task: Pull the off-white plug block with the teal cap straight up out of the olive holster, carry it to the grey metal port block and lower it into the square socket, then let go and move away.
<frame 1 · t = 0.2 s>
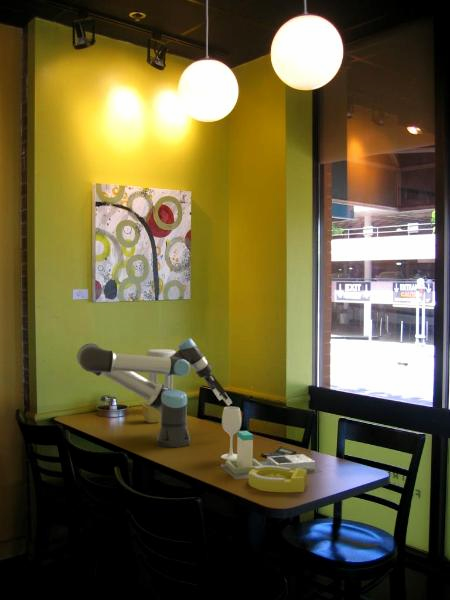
hand: (225, 401, 305), 15 cm above the table, tool tilted 35°, fingers open, 13 cm apart
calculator: (278, 457, 264), on the table, touching mat
ashtray: (276, 484, 227), on the table, touching mat
flower pot: (152, 422, 327), on the table
stool: (160, 412, 352), on the table
mat: (270, 469, 246), on the table
wineglass: (230, 458, 262), on the table
holster: (244, 465, 246), on the mat
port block: (281, 468, 246), resting on mat
plug: (244, 450, 246), in the holster, touching mat
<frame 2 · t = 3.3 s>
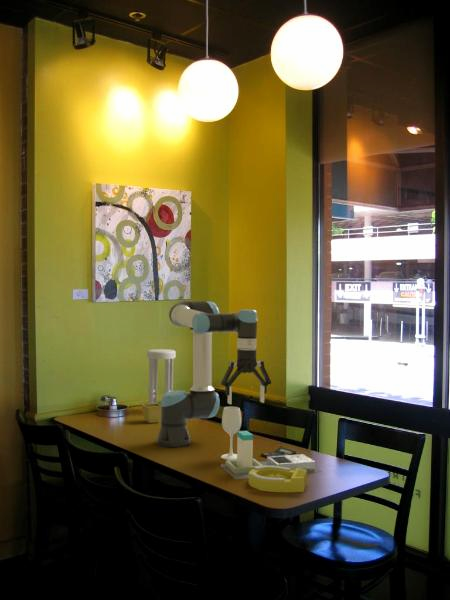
hand: (245, 403, 245), 26 cm above the table, tool pointing down, fingers open, 13 cm apart
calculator: (278, 457, 264), on the table
everything else where it was.
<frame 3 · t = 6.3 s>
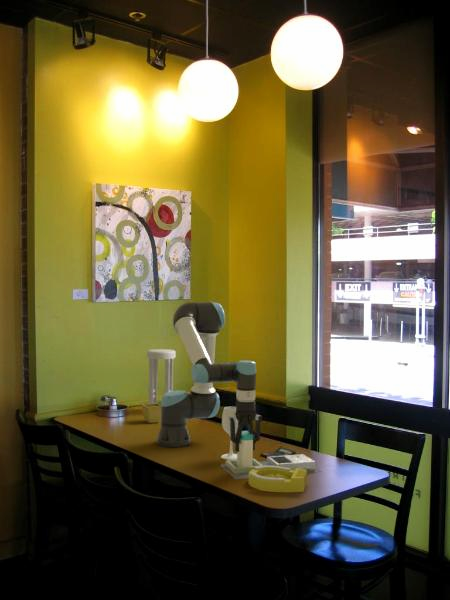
hand: (244, 459, 246), 4 cm above the table, tool pointing down, fingers closed on plug, 4 cm apart
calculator: (277, 457, 264), on the table, touching mat
plug: (244, 450, 246), in the holster, touching gripper, mat
everything else where it was.
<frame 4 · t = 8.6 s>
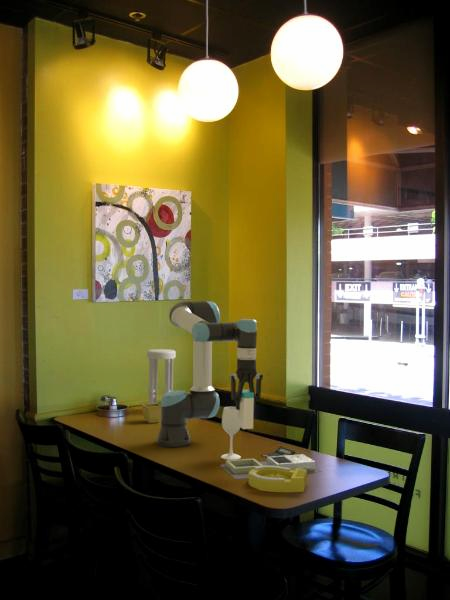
hand: (245, 417, 245), 20 cm above the table, tool pointing down, fingers closed on plug, 4 cm apart
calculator: (277, 458, 264), on the table
plug: (245, 409, 245), point 24 cm above the table, touching gripper
everything else where it was.
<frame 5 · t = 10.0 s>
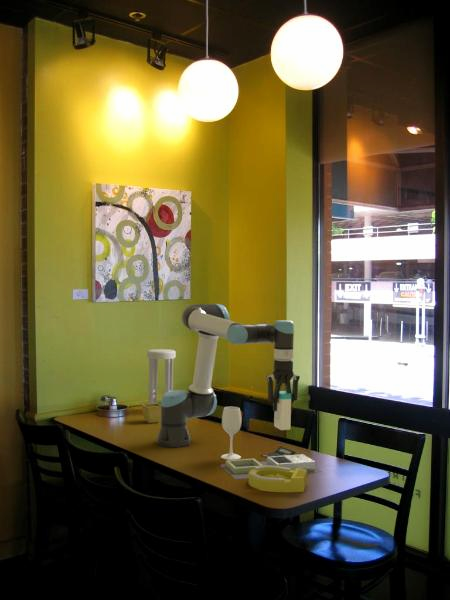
hand: (282, 418, 246), 20 cm above the table, tool pointing down, fingers closed on plug, 4 cm apart
plug: (282, 410, 246), point 24 cm above the table, touching gripper
everything else where it was.
when the fingers open (6 cm above the table, at t = 13.9 s): plug drops 1 cm, resting on mat.
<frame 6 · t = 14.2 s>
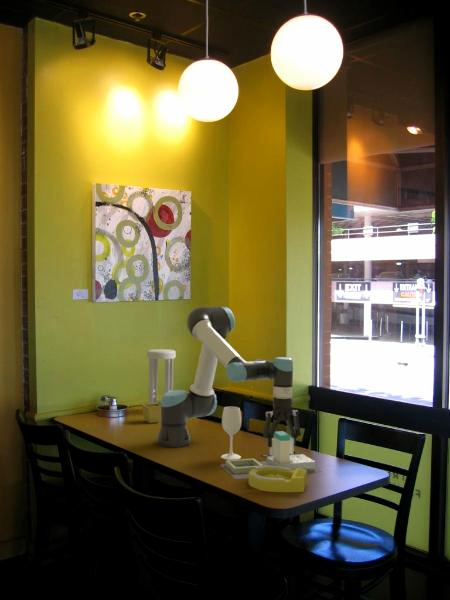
hand: (281, 454, 246), 6 cm above the table, tool pointing down, fingers open, 8 cm apart
plug: (281, 451, 246), in the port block, touching mat
everything else where it was.
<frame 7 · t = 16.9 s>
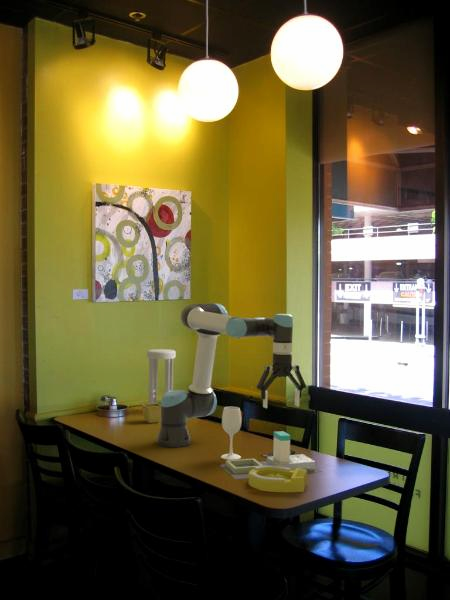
hand: (281, 406, 246), 25 cm above the table, tool pointing down, fingers open, 13 cm apart
nothing on the table moved.
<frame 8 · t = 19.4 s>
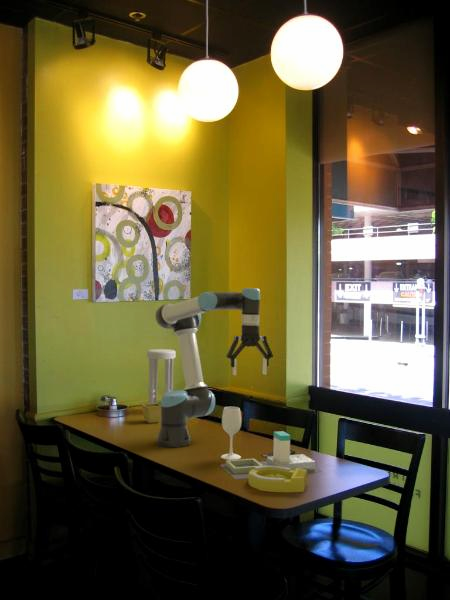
hand: (249, 374, 264), 35 cm above the table, tool pointing down, fingers open, 13 cm apart
nothing on the table moved.
at the end: plug 0.0 cm off-centre on the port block, point 7.0 cm above the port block's base; plug tilted 0°; the gripper is holding nothing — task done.
